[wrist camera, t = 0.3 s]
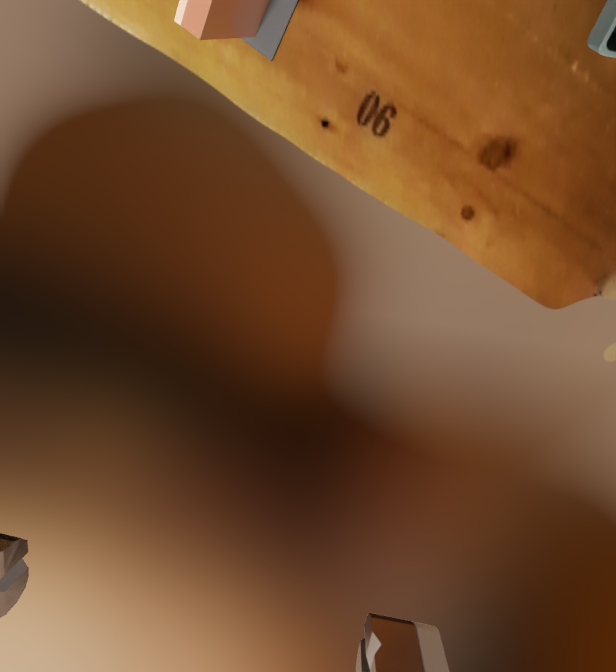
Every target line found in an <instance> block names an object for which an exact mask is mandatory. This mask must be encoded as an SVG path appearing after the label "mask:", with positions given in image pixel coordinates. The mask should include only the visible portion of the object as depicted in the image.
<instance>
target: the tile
mask: <svg viewBox="0 0 616 672" xmlns="http://www.w3.org/2000/svg"><path fill="white" fill-rule="evenodd" d="M268 2H269V0H180V1H179V4H178V8H177V12H176V16H175V19H174V21H175V22H176V23H178V24H179V25H180V26H182V27H183V28H185V29H186V30H187V31H189V32H190V33H191V34H193V35H194V36H195V37H197V38H198V39H199V40H208V39H228V38H247V37H255V35H256V33H257V30H258V28H259V25H260V23H261V20H262V17H263V15H264V12H265V10H266V7H267V5H268Z"/></svg>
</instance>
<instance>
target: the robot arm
mask: <svg viewBox="0 0 616 672" xmlns="http://www.w3.org/2000/svg"><path fill="white" fill-rule="evenodd" d="M27 553H28V544H27V540H24V539H22V538H18V537H14V536H9V535H6V534H2V533H0V617H2V616H4V615H6V614H7V612H8V611H9V610H10V609H11V608H12V607H13V606H14V605H15V604H16V602H17V601H18V599H19V598H20V596H21V594H22V592H23V591H24V589H25V587H26V583H27V580H28V566H27V565H26V563H25V562H24V560H23V559H22V558H23V557H24V556H25V555H26V554H27ZM364 627H365V638H363V639H362V640H361V641H360V645H359V649H358V656H357V664H356V672H449V668H448V665H447V661H446V657H445V653H444V649H443V645H442V642H441V638H440V634H439V631H438V629H437V628H436V627H435V626H430V625H426V624H421V623H417V622H412V621H408V620H404V619H398V618H394V617H388V616H384V615H379V614H373V613H368V615H367V617H366V621H365V625H364Z"/></svg>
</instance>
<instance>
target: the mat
mask: <svg viewBox="0 0 616 672" xmlns="http://www.w3.org/2000/svg"><path fill="white" fill-rule="evenodd" d="M297 2H298V0H269V2H268V5H267V7H266V10H265V12H264V15H263V17H262V20H261V23H260V25H259V28H258V30H257V33H256V35H255V37H247V38H242V39H243V40H244V41H245V42H247V43H248V44H249V45H251V46H252V47H253V48H254V49H256V50H257V51H258V52H260V53H261V54H262V55H264V56H265V57H266V58H267V59H269V60H270V61H272V60H273V58H274V55H275V53H276V51H277V48H278V46H279V44H280V42H281V39H282V37H283V35H284V32H285V30H286V28H287V25H288V23H289V21H290V19H291V16H292V14H293V12H294V9H295V7H296V5H297Z"/></svg>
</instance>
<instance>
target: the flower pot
mask: <svg viewBox="0 0 616 672" xmlns="http://www.w3.org/2000/svg"><path fill="white" fill-rule="evenodd" d="M587 43H588V46H589V47H590V48H591V49H592V50H594V51H596V52H598V53H599V54H601V55H603V56H608V57H613V58H616V0H607V2H606V3H605V5H604V7H603V9H602V11H601V13H600V15H599V17H598V19H597V21H596V23H595V25H594V27H593V28H592V30H591V32H590V35H589V37H588V41H587Z"/></svg>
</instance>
